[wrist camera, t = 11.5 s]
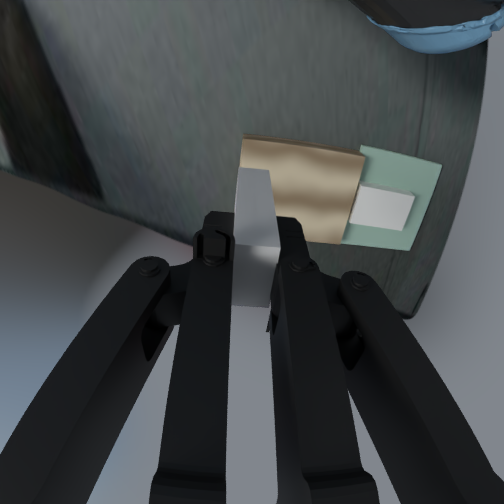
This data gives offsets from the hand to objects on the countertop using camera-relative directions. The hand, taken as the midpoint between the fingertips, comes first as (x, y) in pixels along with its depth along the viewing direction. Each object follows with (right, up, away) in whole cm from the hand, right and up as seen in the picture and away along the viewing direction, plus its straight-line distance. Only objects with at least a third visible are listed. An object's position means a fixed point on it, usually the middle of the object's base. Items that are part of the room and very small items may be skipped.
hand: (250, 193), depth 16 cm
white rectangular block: (+19, +4, +29) cm, 35 cm away
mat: (+21, +5, +29) cm, 37 cm away
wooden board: (+6, +6, +28) cm, 30 cm away
